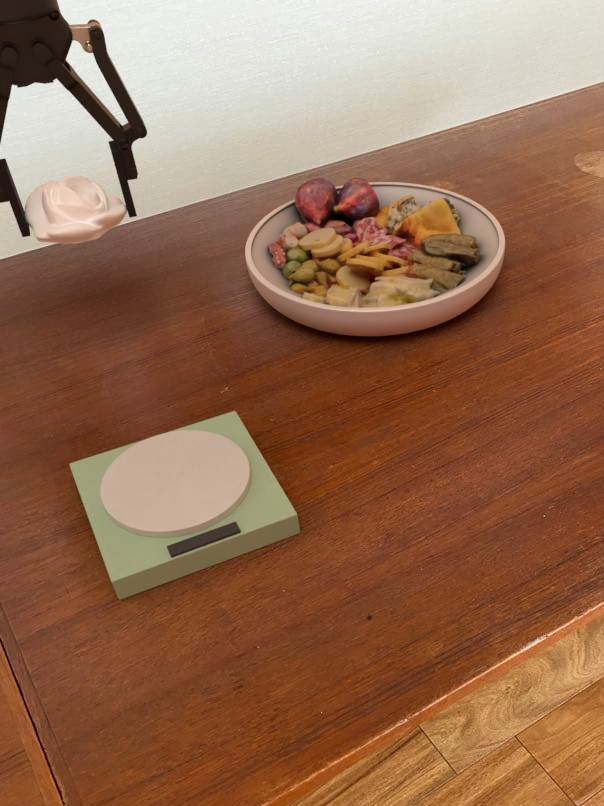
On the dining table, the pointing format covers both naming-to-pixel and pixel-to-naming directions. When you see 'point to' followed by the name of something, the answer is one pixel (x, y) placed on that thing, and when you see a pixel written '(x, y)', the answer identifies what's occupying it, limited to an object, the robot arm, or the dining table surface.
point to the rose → (72, 211)
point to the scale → (181, 503)
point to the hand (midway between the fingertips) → (79, 220)
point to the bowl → (374, 256)
